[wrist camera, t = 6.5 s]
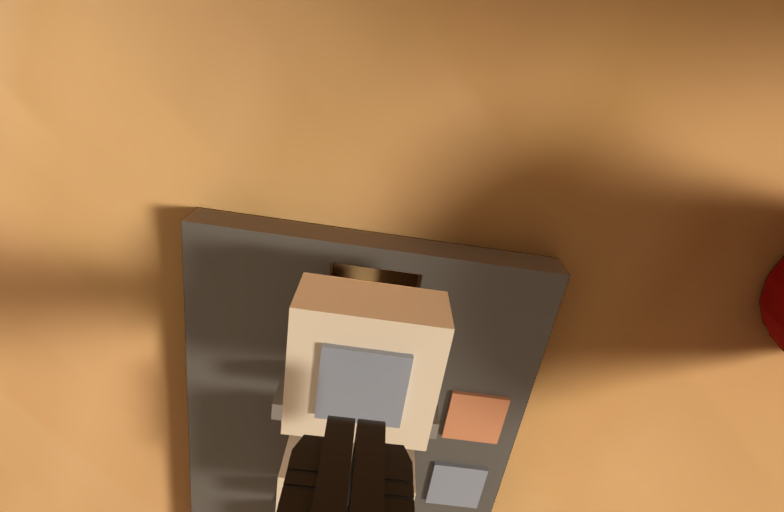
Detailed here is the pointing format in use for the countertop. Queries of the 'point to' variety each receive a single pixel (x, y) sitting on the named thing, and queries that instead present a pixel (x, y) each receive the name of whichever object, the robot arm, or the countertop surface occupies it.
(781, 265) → the plastic cup
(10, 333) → the countertop surface
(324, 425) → the key
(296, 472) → the robot arm
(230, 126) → the countertop surface
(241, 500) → the keypad board
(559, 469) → the countertop surface
